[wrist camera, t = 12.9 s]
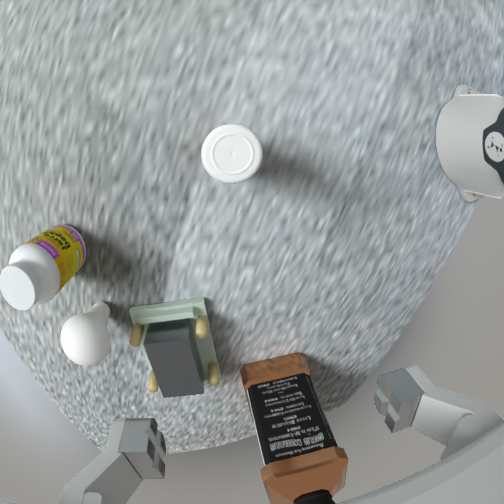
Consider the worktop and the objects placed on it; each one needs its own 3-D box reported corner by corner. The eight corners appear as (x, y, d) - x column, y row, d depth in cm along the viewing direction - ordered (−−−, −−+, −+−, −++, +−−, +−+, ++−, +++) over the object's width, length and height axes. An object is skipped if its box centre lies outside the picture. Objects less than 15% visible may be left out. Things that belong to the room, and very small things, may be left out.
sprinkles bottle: (250, 158, 35) (275, 164, 23) (217, 179, 36) (222, 196, 23) (230, 125, 34) (243, 111, 21) (196, 146, 34) (189, 144, 21)
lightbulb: (114, 333, 40) (94, 384, 30) (77, 312, 38) (47, 358, 28) (131, 301, 39) (111, 350, 29) (92, 278, 37) (60, 321, 27)
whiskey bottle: (307, 396, 49) (375, 561, 19) (250, 409, 48) (289, 586, 18) (303, 350, 45) (393, 543, 15) (238, 365, 44) (281, 577, 14)
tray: (203, 297, 40) (203, 315, 36) (220, 372, 44) (222, 394, 40) (130, 307, 39) (123, 325, 35) (156, 380, 43) (153, 401, 39)
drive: (189, 317, 39) (188, 338, 35) (203, 369, 42) (204, 393, 38) (149, 322, 39) (143, 344, 34) (166, 374, 42) (163, 397, 37)
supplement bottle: (92, 231, 35) (47, 270, 23) (83, 278, 37) (43, 329, 25) (48, 216, 34) (-7, 247, 22) (42, 262, 35) (-8, 305, 23)
